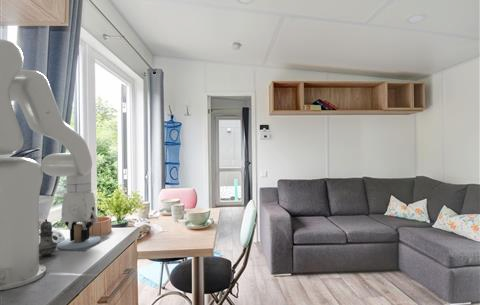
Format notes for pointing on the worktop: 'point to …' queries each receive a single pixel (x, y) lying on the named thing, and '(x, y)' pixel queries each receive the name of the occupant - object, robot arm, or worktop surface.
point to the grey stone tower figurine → (46, 241)
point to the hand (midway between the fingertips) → (79, 239)
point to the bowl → (100, 226)
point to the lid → (78, 240)
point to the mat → (84, 248)
